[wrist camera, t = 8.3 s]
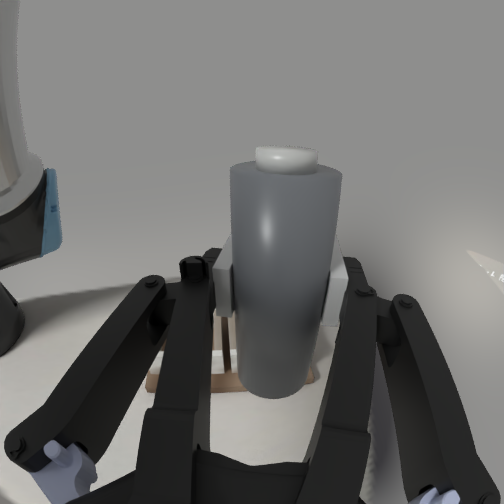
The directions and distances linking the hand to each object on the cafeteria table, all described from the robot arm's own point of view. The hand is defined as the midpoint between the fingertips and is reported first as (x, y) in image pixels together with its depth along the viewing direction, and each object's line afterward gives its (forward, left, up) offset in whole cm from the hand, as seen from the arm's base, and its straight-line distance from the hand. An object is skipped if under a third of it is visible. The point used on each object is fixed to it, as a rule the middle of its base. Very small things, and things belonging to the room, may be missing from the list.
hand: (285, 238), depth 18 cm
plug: (-1, -5, -7) cm, 8 cm away
